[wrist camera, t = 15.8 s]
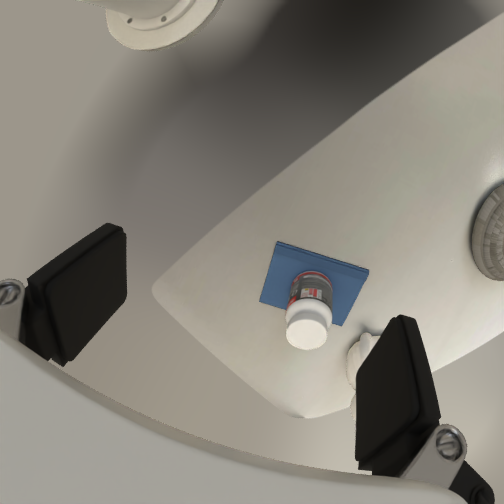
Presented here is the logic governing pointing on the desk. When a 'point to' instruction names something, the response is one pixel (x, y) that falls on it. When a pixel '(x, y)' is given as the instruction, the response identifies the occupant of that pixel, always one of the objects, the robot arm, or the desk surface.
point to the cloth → (298, 261)
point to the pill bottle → (309, 310)
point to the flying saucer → (490, 236)
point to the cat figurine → (358, 362)
